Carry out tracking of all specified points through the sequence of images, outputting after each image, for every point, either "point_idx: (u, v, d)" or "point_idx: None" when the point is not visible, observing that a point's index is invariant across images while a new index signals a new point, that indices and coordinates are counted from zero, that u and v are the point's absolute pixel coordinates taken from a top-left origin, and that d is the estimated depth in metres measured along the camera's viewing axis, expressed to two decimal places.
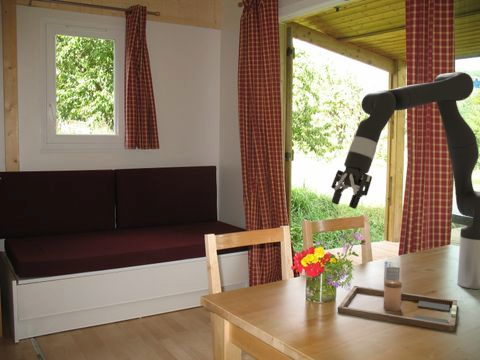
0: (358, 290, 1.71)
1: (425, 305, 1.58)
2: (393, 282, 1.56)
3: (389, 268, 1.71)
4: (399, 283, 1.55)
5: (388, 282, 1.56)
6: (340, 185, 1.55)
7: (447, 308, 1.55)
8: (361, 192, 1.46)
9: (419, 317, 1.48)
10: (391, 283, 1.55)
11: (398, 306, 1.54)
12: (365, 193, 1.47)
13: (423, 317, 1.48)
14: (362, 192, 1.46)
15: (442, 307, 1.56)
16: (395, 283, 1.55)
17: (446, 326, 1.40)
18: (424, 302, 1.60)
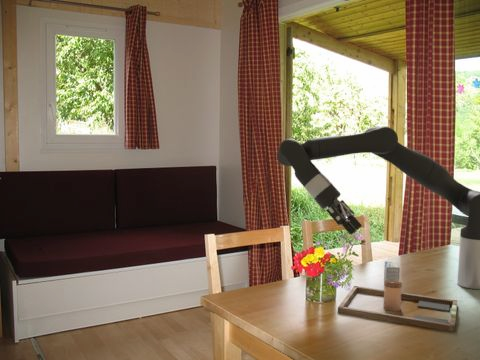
0: (358, 290, 1.71)
1: (425, 305, 1.58)
2: (393, 282, 1.56)
3: (389, 268, 1.71)
4: (399, 283, 1.55)
5: (388, 282, 1.56)
6: None
7: (447, 308, 1.55)
8: (338, 223, 1.54)
9: (419, 317, 1.48)
10: (391, 283, 1.55)
11: (398, 306, 1.54)
12: (341, 220, 1.53)
13: (423, 317, 1.48)
14: (339, 222, 1.54)
15: (442, 307, 1.56)
16: (395, 283, 1.55)
17: (446, 326, 1.40)
18: (424, 302, 1.60)
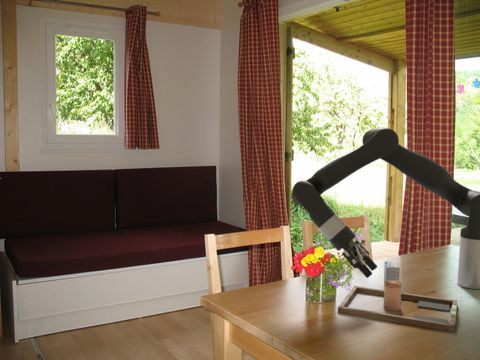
0: (358, 290, 1.71)
1: (425, 305, 1.58)
2: (393, 282, 1.56)
3: (389, 268, 1.71)
4: (399, 283, 1.55)
5: (388, 282, 1.56)
6: None
7: (447, 308, 1.55)
8: (355, 267, 1.53)
9: (419, 317, 1.48)
10: (391, 283, 1.55)
11: (398, 306, 1.54)
12: (358, 264, 1.53)
13: (423, 317, 1.48)
14: (355, 266, 1.53)
15: (442, 307, 1.56)
16: (395, 283, 1.55)
17: (446, 326, 1.40)
18: (424, 302, 1.60)
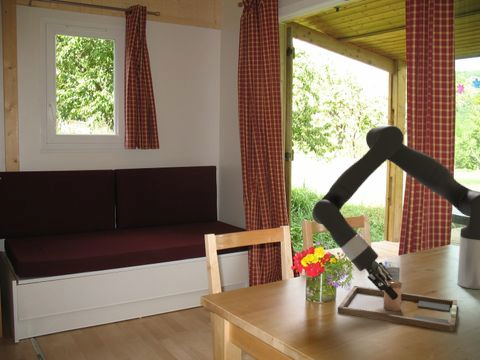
0: (358, 290, 1.71)
1: (425, 305, 1.58)
2: (393, 282, 1.56)
3: (389, 268, 1.71)
4: (399, 283, 1.55)
5: (388, 282, 1.56)
6: None
7: (447, 308, 1.55)
8: (381, 289, 1.52)
9: (419, 317, 1.48)
10: (391, 283, 1.55)
11: (398, 306, 1.54)
12: (384, 286, 1.51)
13: (423, 317, 1.48)
14: (381, 288, 1.52)
15: (442, 307, 1.56)
16: (395, 283, 1.55)
17: (446, 326, 1.40)
18: (424, 302, 1.60)
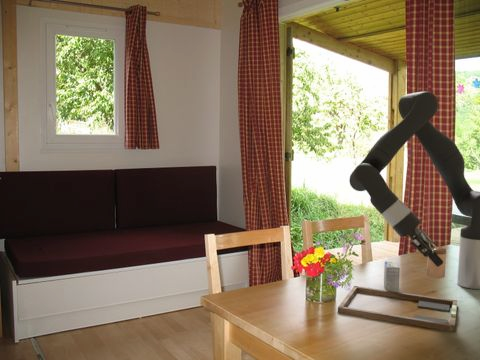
0: (358, 290, 1.71)
1: (425, 305, 1.58)
2: (437, 249, 1.49)
3: (389, 268, 1.71)
4: (443, 249, 1.49)
5: (432, 248, 1.50)
6: None
7: (447, 308, 1.55)
8: (425, 255, 1.46)
9: (419, 317, 1.48)
10: (435, 249, 1.49)
11: (443, 273, 1.48)
12: (429, 252, 1.45)
13: (423, 317, 1.48)
14: (426, 254, 1.46)
15: (442, 307, 1.56)
16: (439, 249, 1.49)
17: (446, 326, 1.40)
18: (424, 302, 1.60)
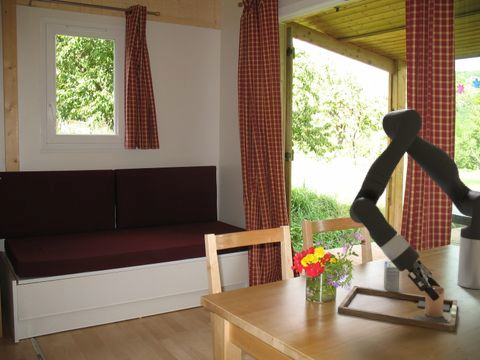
0: (358, 290, 1.71)
1: None
2: (435, 288, 1.51)
3: (389, 268, 1.71)
4: (441, 289, 1.50)
5: None
6: None
7: (447, 308, 1.55)
8: (421, 290, 1.46)
9: (419, 317, 1.48)
10: (433, 288, 1.50)
11: (440, 313, 1.49)
12: (425, 286, 1.45)
13: (423, 317, 1.48)
14: (422, 289, 1.46)
15: None
16: (437, 289, 1.50)
17: (446, 326, 1.40)
18: (424, 302, 1.60)
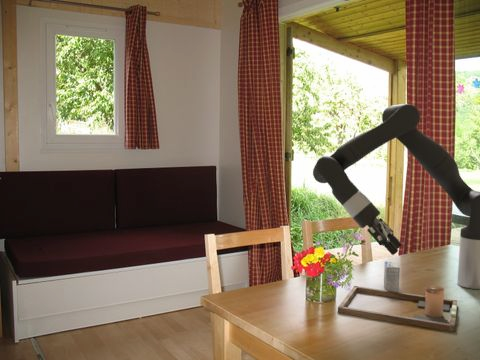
0: (358, 290, 1.71)
1: None
2: (435, 288, 1.51)
3: (389, 268, 1.71)
4: (441, 289, 1.50)
5: (430, 288, 1.51)
6: None
7: (447, 308, 1.55)
8: (380, 244, 1.49)
9: (419, 317, 1.48)
10: (433, 288, 1.50)
11: (440, 313, 1.49)
12: (383, 240, 1.49)
13: (423, 317, 1.48)
14: (381, 243, 1.49)
15: None
16: (437, 289, 1.50)
17: (446, 326, 1.40)
18: (424, 302, 1.60)
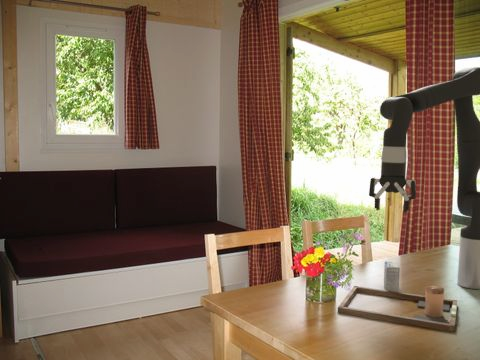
0: (358, 290, 1.71)
1: None
2: (435, 288, 1.51)
3: (389, 268, 1.71)
4: (441, 289, 1.50)
5: (430, 288, 1.51)
6: None
7: (447, 308, 1.55)
8: (414, 198, 1.61)
9: (419, 317, 1.48)
10: (433, 288, 1.50)
11: (440, 313, 1.49)
12: (415, 196, 1.62)
13: (423, 317, 1.48)
14: (415, 197, 1.61)
15: None
16: (437, 289, 1.50)
17: (446, 326, 1.40)
18: (424, 302, 1.60)
